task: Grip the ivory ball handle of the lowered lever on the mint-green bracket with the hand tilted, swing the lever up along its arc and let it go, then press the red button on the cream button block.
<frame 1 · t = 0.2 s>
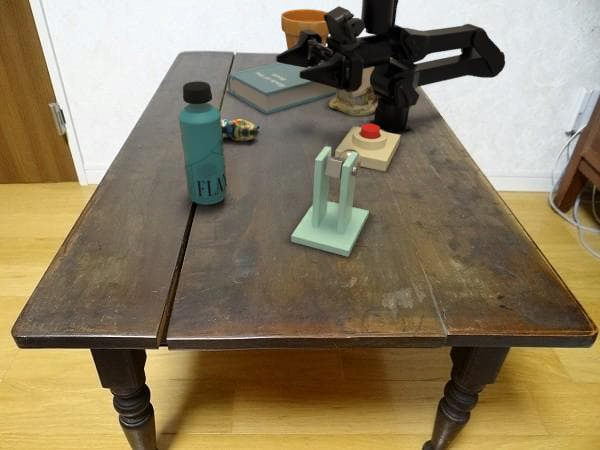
hand: (287, 66, 86), 17 cm above the table, tool horizontal, fingers open, 9 cm apart
button block: (367, 152, 96), on the table
bracket: (331, 228, 75), on the table
ceramic model: (358, 106, 115), on the table
lever: (343, 163, 73), point 10 cm above the table, hinge at -20.0°
beverage bottle: (208, 202, 81), on the table
button: (370, 131, 93), point 4 cm above the table, slide at 0.1 cm
figurine: (222, 137, 100), on the table
flower pot: (305, 63, 139), on the table
book: (284, 93, 120), on the table
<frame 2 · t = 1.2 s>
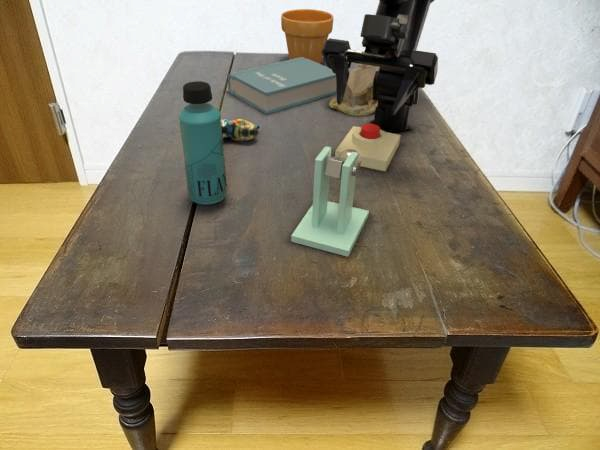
hand: (365, 108, 79), 14 cm above the table, tool tilted 45°, fingers open, 9 cm apart
nothing on the table moved.
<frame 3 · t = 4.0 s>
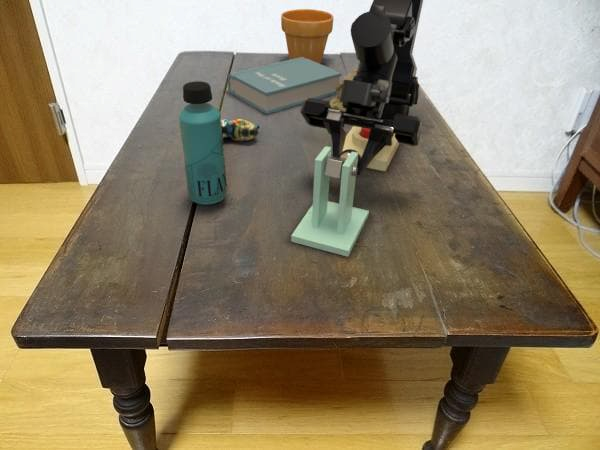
hand: (346, 172, 76), 7 cm above the table, tool tilted 45°, fingers closed on lever, 3 cm apart
lever: (343, 163, 73), point 10 cm above the table, hinge at -20.0°, touching gripper
everything else where it was.
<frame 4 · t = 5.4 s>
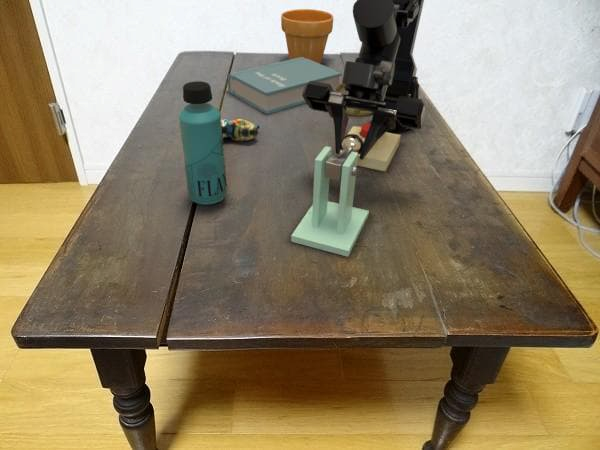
hand: (348, 156, 75), 9 cm above the table, tool tilted 45°, fingers closed on lever, 3 cm apart
lever: (344, 155, 72), point 11 cm above the table, hinge at -2.2°, touching gripper
everything else where it was.
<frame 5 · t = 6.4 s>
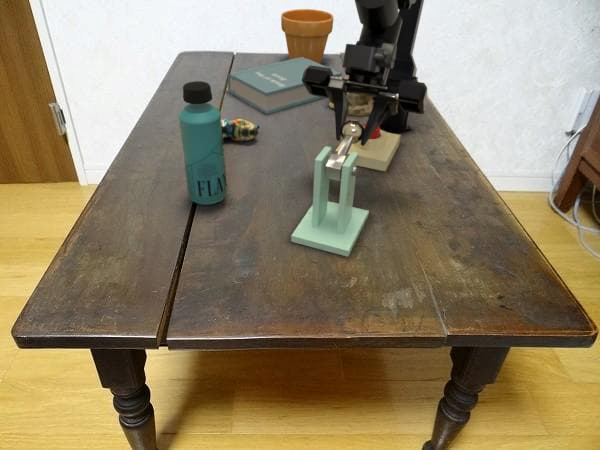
hand: (349, 142, 73), 12 cm above the table, tool tilted 45°, fingers closed on lever, 3 cm apart
lever: (345, 148, 71), point 12 cm above the table, hinge at 15.5°, touching gripper
everything else where it was.
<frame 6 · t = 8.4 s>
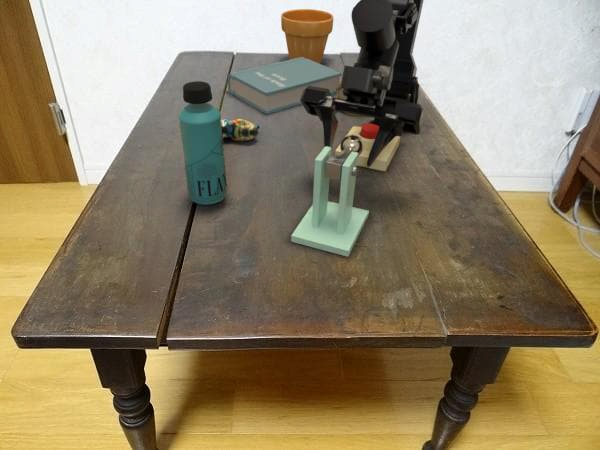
hand: (347, 161, 74), 9 cm above the table, tool tilted 45°, fingers open, 6 cm apart
lever: (344, 155, 72), point 11 cm above the table, hinge at -3.5°
everything else where it was.
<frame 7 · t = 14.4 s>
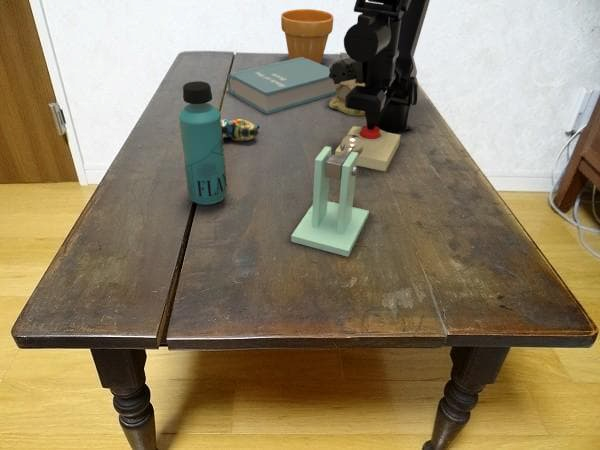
hand: (370, 128, 93), 5 cm above the table, tool pointing down, fingers closed, pressing on button
button: (370, 133, 93), point 4 cm above the table, slide at -0.2 cm, touching gripper
everything else where it was.
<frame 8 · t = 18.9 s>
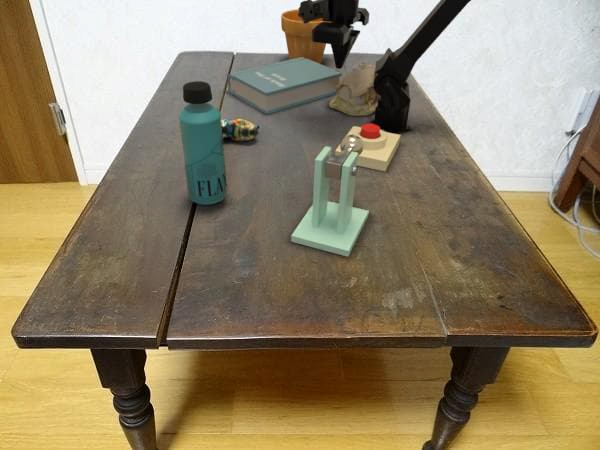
hand: (339, 68, 100), 12 cm above the table, tool pointing down, fingers closed
button: (370, 131, 93), point 4 cm above the table, slide at 0.1 cm
everything else where it was.
at the end: lever reached +16° during the clip, -4° at the end; lever at -4° (first picture: -20°); button pushed in 1.2 cm at the most during the clip, back to where it started at the end; button slide at 0.1 cm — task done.
